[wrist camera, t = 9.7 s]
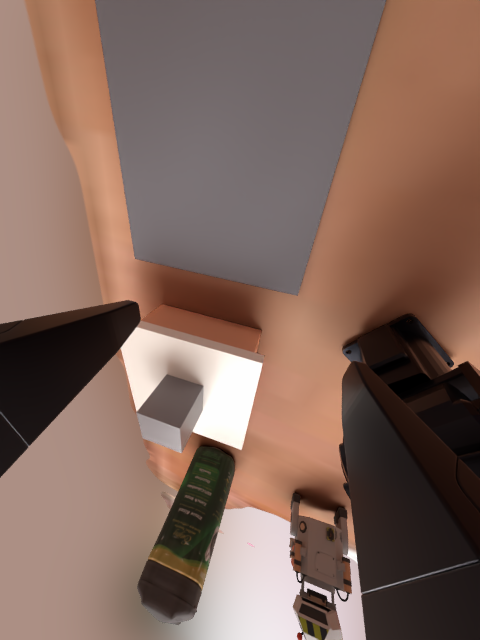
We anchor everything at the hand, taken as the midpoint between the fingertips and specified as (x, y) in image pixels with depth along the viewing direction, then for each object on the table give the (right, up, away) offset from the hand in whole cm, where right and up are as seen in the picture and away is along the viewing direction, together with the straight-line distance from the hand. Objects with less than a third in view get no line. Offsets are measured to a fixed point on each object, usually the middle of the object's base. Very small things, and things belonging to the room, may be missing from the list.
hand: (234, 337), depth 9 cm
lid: (-5, -6, +14) cm, 16 cm away
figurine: (+14, -34, +31) cm, 48 cm away
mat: (-1, +14, +7) cm, 15 cm away
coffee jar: (-4, -26, +32) cm, 41 cm away
